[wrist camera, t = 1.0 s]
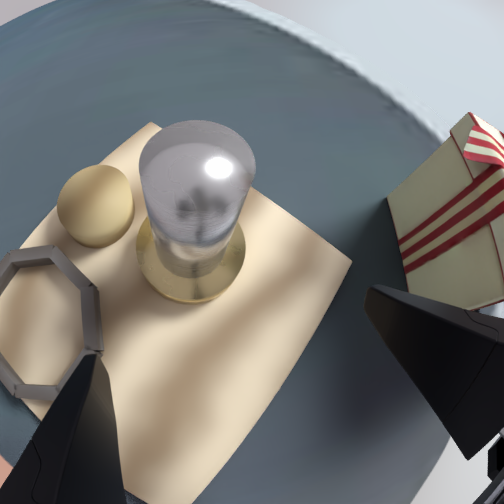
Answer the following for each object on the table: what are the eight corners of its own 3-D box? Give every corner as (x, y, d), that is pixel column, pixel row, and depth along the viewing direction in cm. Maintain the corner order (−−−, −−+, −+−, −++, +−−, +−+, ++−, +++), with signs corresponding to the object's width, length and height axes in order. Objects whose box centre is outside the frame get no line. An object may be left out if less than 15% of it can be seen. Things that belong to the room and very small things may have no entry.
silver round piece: (259, 247, 23) (316, 159, 12) (200, 326, 19) (215, 291, 9) (183, 192, 23) (190, 83, 13) (120, 261, 20) (70, 174, 10)
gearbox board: (346, 264, 25) (368, 250, 22) (177, 513, 14) (177, 534, 11) (151, 128, 26) (149, 103, 23) (-25, 327, 15) (-48, 320, 12)
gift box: (355, 193, 28) (461, 76, 13) (452, 200, 33) (534, 134, 17) (396, 358, 23) (568, 322, 7) (486, 316, 28) (589, 276, 12)
